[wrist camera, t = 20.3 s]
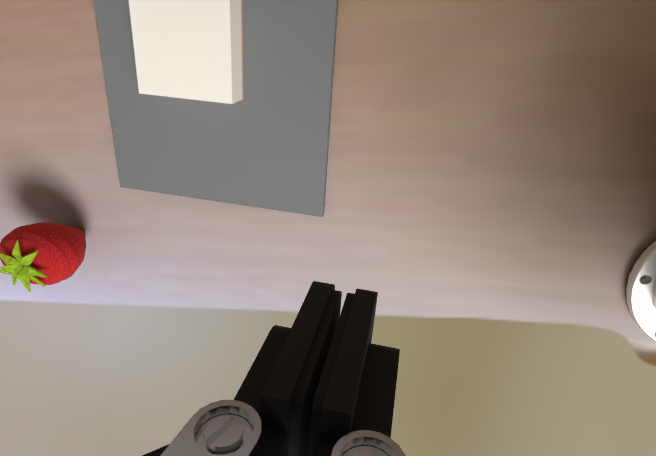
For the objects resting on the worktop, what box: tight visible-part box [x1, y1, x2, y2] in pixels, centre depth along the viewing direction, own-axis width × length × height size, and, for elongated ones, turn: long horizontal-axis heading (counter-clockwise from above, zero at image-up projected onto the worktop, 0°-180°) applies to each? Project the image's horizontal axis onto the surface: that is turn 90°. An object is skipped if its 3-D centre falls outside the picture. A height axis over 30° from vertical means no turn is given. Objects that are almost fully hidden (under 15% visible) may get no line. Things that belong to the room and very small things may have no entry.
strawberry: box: [0, 223, 86, 292], centre depth 43 cm, size 6×8×10 cm
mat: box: [93, 0, 338, 217], centre depth 36 cm, size 20×26×1 cm
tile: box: [129, 0, 244, 104], centre depth 35 cm, size 2×8×8 cm
